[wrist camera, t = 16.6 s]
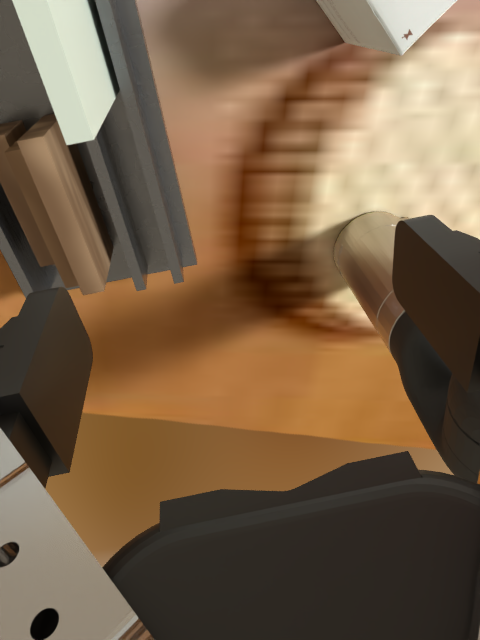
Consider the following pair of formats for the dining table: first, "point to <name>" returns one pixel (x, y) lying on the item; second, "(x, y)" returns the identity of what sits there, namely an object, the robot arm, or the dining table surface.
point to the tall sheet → (71, 62)
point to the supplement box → (383, 21)
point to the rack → (104, 157)
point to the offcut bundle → (55, 202)
